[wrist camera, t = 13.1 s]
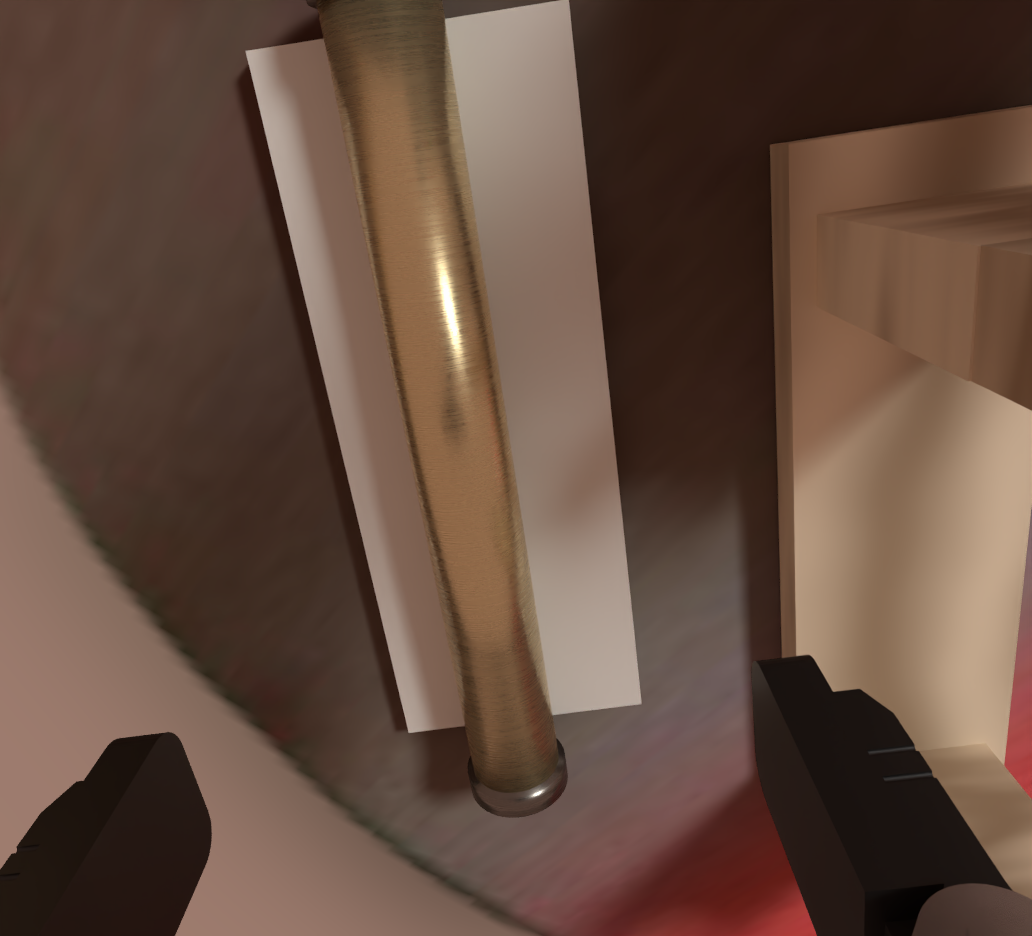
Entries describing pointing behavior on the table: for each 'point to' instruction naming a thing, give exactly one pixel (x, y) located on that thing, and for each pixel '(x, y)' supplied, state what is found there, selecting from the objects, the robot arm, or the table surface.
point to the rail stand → (911, 435)
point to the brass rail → (447, 381)
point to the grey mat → (518, 340)
